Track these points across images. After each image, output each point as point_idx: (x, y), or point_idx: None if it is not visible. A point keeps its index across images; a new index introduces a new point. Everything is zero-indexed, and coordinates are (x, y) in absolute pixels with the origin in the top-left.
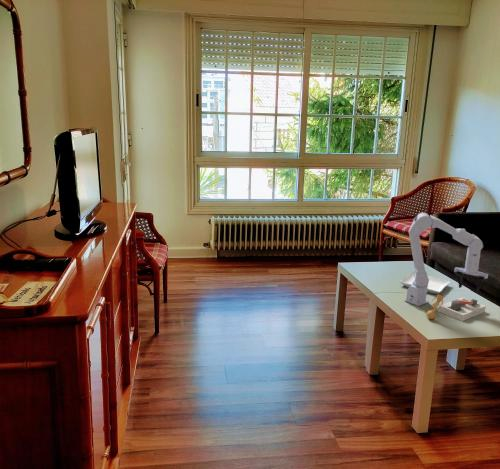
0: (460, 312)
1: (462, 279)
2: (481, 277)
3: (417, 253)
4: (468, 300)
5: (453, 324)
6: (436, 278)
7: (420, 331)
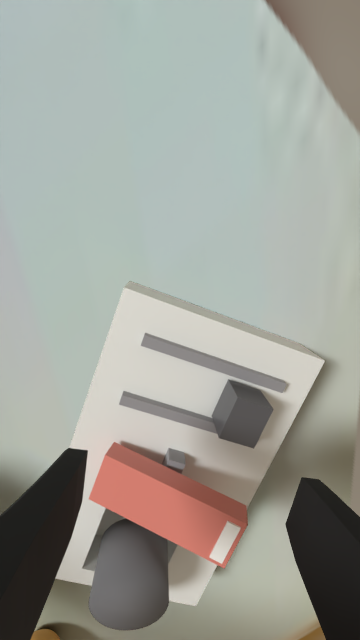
0: (172, 585)
1: (22, 570)
2: None
3: None
4: (206, 509)
5: None
6: None
7: None
